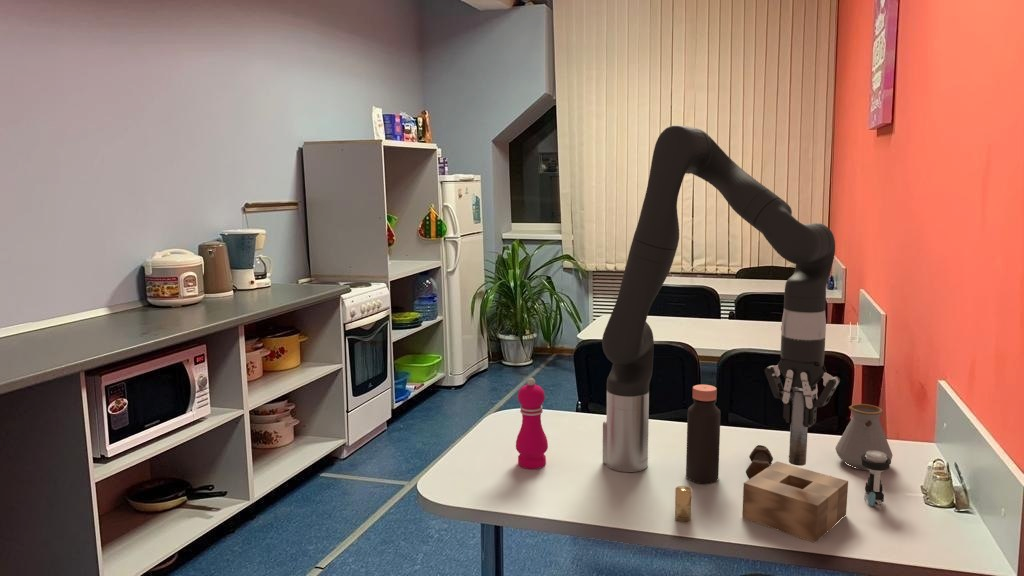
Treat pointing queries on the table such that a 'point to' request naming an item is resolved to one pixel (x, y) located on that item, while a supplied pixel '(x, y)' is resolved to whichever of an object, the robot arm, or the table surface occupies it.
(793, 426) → the long pin
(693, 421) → the bottle
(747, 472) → the bolt
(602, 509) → the table surface
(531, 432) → the pepper mill
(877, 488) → the push button
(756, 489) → the hole block
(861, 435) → the coffee pot
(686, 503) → the short pin
